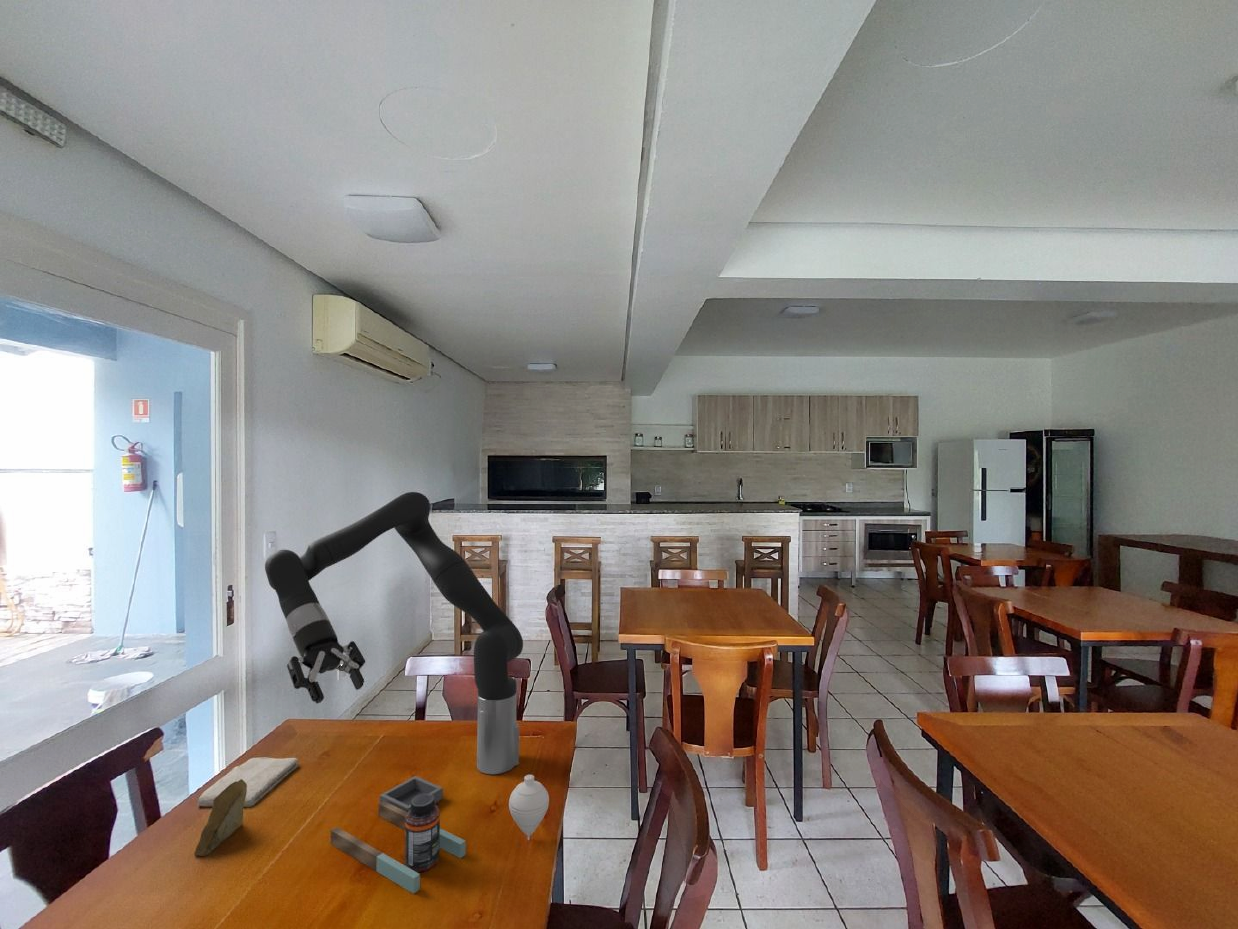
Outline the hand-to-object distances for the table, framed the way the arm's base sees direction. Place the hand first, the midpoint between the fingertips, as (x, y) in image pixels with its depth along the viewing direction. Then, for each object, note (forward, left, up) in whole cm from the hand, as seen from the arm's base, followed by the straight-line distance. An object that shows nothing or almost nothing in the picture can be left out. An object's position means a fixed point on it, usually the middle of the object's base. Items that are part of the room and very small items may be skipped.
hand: (340, 694), depth 114 cm
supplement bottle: (-11, +23, -25) cm, 36 cm away
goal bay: (-11, +23, -25) cm, 36 cm away
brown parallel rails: (-6, +12, -25) cm, 28 cm away
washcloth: (+15, -24, -26) cm, 38 cm away
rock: (+20, -6, -25) cm, 33 cm away
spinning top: (-30, +27, -25) cm, 48 cm away
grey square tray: (-14, +3, -25) cm, 29 cm away
